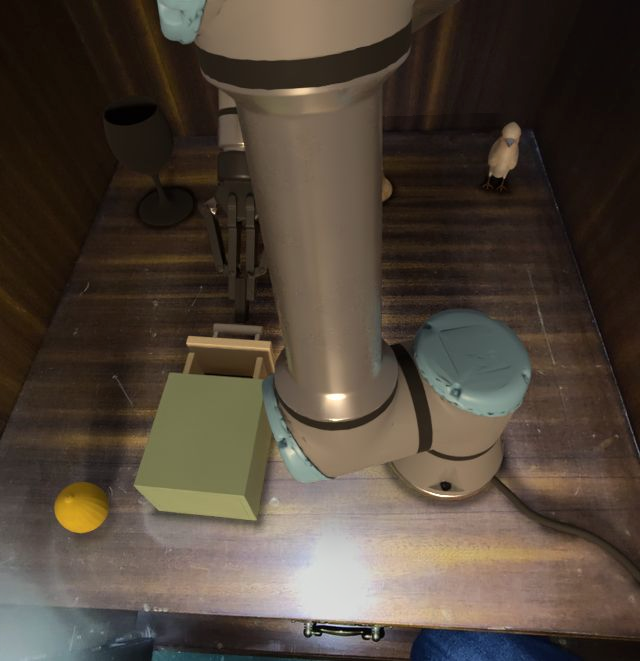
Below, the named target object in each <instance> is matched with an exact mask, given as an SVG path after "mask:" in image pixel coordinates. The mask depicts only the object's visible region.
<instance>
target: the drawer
mask: <svg viewBox="0 0 640 661" xmlns="http://www.w3.org/2000/svg"><path fill="white" fill-rule="evenodd" d="M212 330H213V335H212V337H210V336H197V335H196V336H195V335H188V336H187V339H186V342H185V343H186V346H187V348H188V350H189V352H188V355H187V358H186V361H185V365H184V367H183V371H182V373H184V374H198V375H205V374H216V375H230V376H243V377H252V379H265V378H266V377H267V376H270V375H271V374H272V373H274V368H275V363H276V358H275V353H274V348H273V344H272V341H271V340H261V337H263V336H264V326H262V325H246V324H234V323H233V324H232V323H231V324H230V323H216V322H215V323H213V326H212ZM220 334H222V335H223V334H224V335H238V336H251V337H252V336H253V337H254V339H240V338H227V337H226V338H225V337H219V335H220Z"/></svg>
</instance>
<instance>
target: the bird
mask: <svg viewBox="0 0 640 661" xmlns="http://www.w3.org/2000/svg"><path fill="white" fill-rule="evenodd" d="M521 135H522V129H521V127H520V126H519V125H518V123H516V122H515V121H512V122H509V123H507V124H506V125H505V126H504V127H503V128H502V130H501V134H500V137H498V139H497V140H496V141H495V142H494V143H493V145H492V146H491V148H490V151H489V152H488V153H489V154H488V156H487V157H488V158H487V165H488V166H489V171H488V180H487V182H485V183H484V184H483V185H482V187H481V188H484V187H485V186H486V190H488V189H489V187H491V189H492V190H493V189H494V187H493V185H491V182H490V180H491V177H492V176H493V177H495V178H497V179H500V178H502V181H501V184H499V185H498V186H497V187H496V189H495V190H498V189H500V192H502V190H503V189H504V190H505V191H506V192H507V191H508V190H507V188H506V187H505V186H504V182H505V179H506V178H507V176H508V173H509V172H510V170H513V169H515V168H516V166H517V164H518V161H519V160H518V159H519V142H520V140H521Z"/></svg>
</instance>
